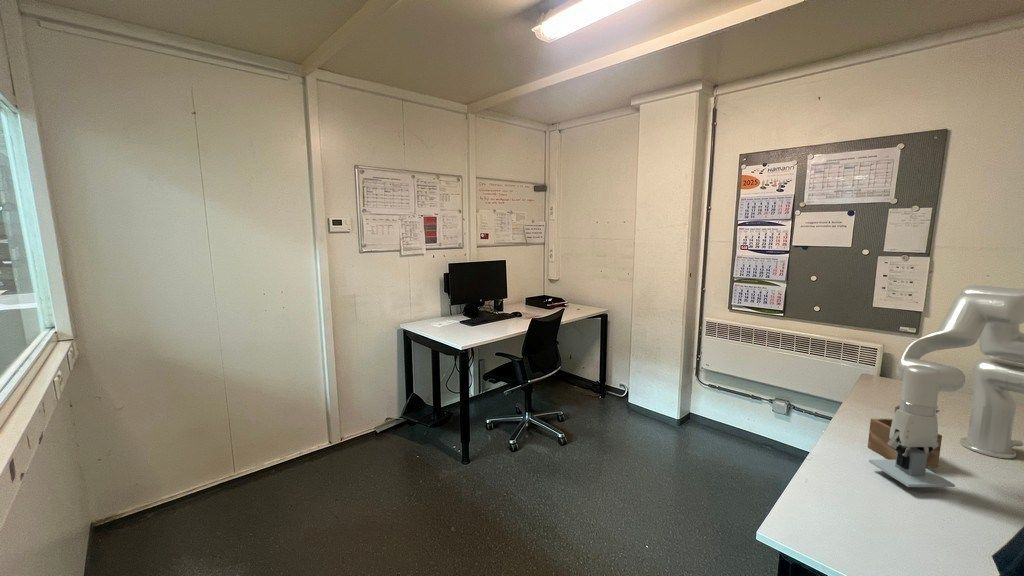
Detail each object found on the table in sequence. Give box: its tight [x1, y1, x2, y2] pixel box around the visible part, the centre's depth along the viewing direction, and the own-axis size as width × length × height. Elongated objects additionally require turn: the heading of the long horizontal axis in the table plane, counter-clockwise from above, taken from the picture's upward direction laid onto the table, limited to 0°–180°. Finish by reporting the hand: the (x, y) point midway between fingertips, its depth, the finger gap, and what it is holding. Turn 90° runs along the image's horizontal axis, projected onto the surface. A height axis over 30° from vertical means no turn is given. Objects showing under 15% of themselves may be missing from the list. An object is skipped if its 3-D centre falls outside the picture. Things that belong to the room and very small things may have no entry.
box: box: [867, 418, 943, 468], centre depth 135 cm, size 12×12×10 cm
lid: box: [868, 447, 956, 488], centre depth 121 cm, size 13×13×9 cm
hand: (910, 466), depth 121 cm, fingers closed on lid, 4 cm apart
